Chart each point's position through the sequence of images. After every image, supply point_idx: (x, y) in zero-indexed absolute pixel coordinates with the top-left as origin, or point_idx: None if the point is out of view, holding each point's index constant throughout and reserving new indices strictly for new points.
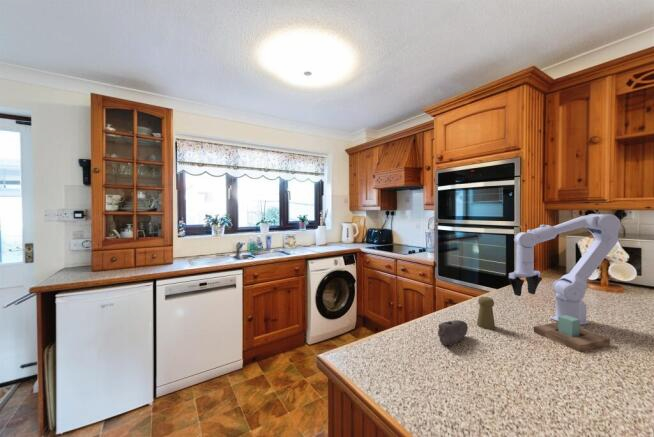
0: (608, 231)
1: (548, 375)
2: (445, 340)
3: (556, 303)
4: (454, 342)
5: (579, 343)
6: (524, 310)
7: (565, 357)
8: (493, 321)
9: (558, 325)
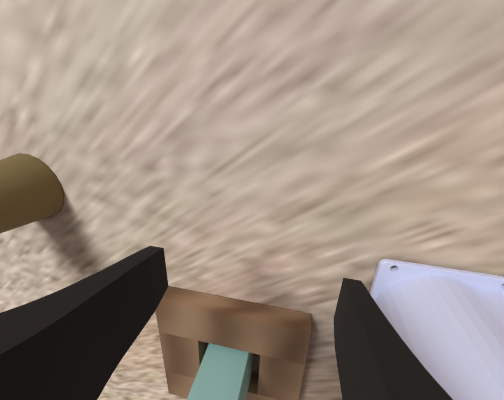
0: None
1: None
2: None
3: (423, 364)
4: None
5: (178, 391)
6: (405, 121)
7: (122, 365)
8: (22, 225)
9: (199, 368)
